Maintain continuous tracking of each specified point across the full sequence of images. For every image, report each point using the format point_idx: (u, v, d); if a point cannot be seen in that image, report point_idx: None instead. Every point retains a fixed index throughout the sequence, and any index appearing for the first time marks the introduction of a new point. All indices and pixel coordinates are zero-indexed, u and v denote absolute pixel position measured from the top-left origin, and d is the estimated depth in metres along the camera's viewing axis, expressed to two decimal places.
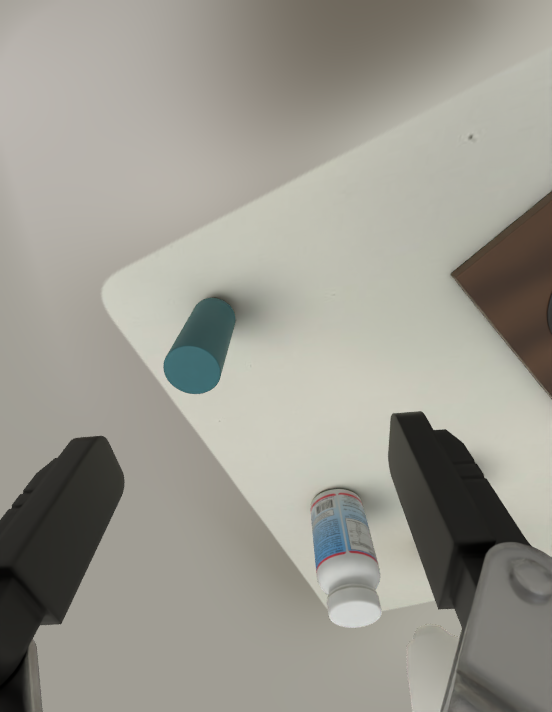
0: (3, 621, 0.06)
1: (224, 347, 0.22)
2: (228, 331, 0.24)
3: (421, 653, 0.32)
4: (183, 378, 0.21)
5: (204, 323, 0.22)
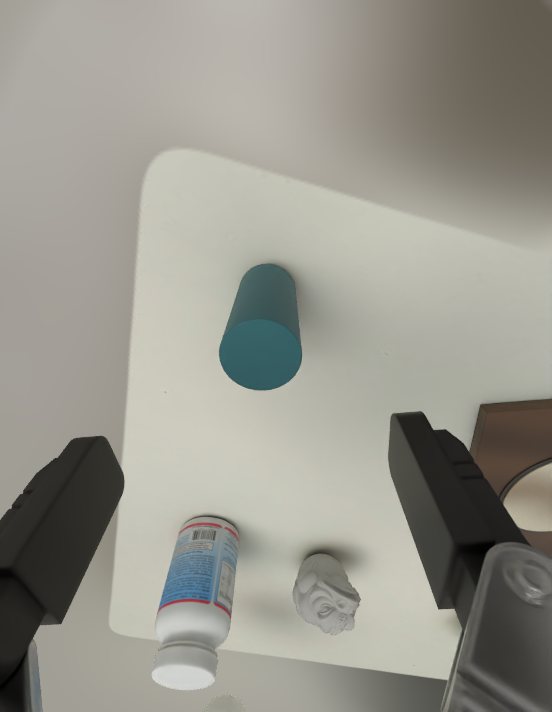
0: (3, 621, 0.06)
1: None
2: None
3: None
4: (241, 357, 0.14)
5: (291, 303, 0.16)
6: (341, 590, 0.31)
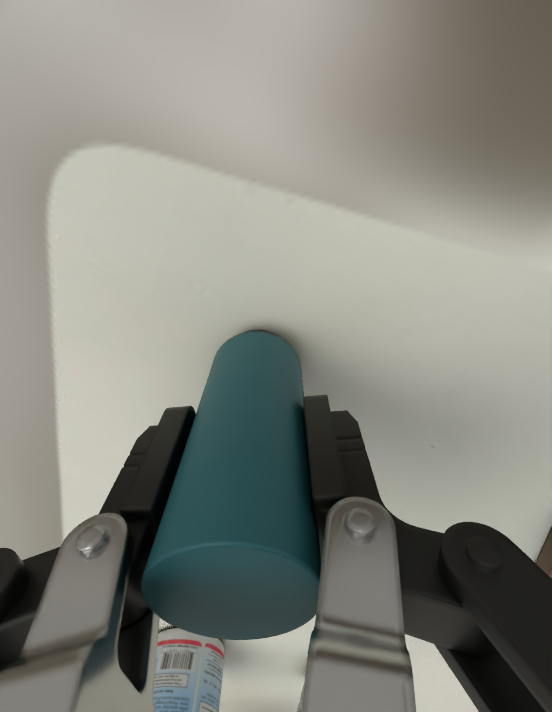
0: (145, 557, 0.07)
1: None
2: None
3: None
4: (191, 600, 0.06)
5: (297, 436, 0.09)
6: None
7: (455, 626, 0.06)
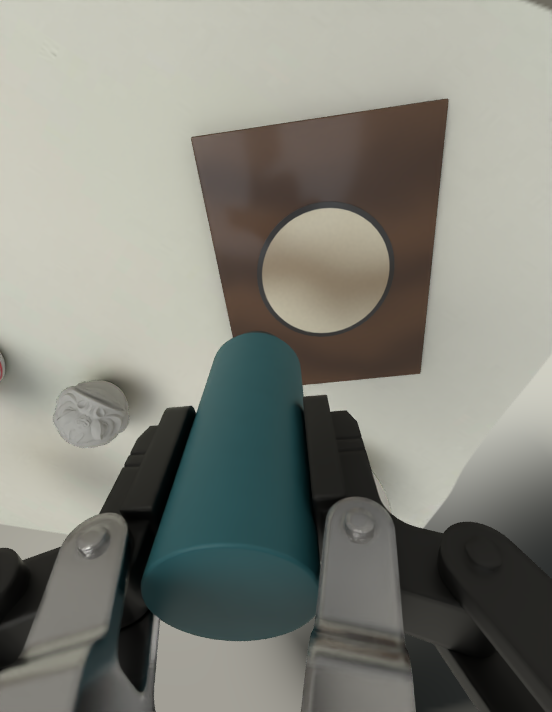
0: (146, 557, 0.07)
1: None
2: None
3: None
4: (190, 602, 0.06)
5: (297, 437, 0.09)
6: (89, 394, 0.28)
7: (454, 626, 0.06)
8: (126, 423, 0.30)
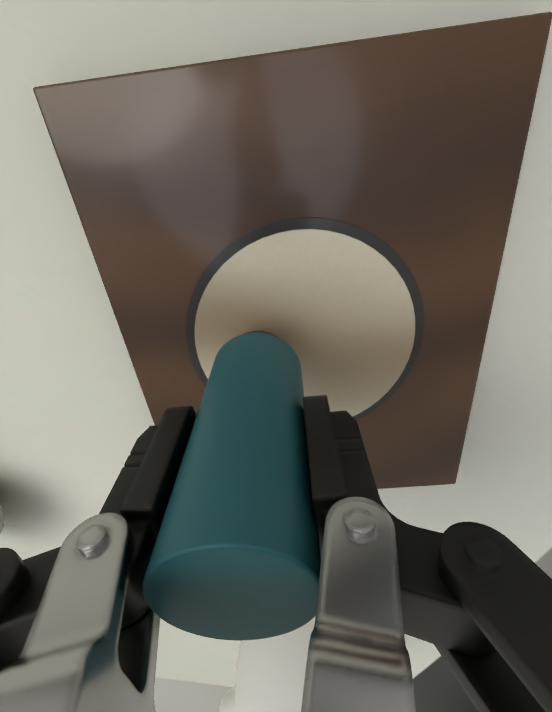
0: (146, 557, 0.07)
1: None
2: None
3: None
4: (192, 601, 0.06)
5: (297, 437, 0.09)
6: None
7: (454, 626, 0.06)
8: None
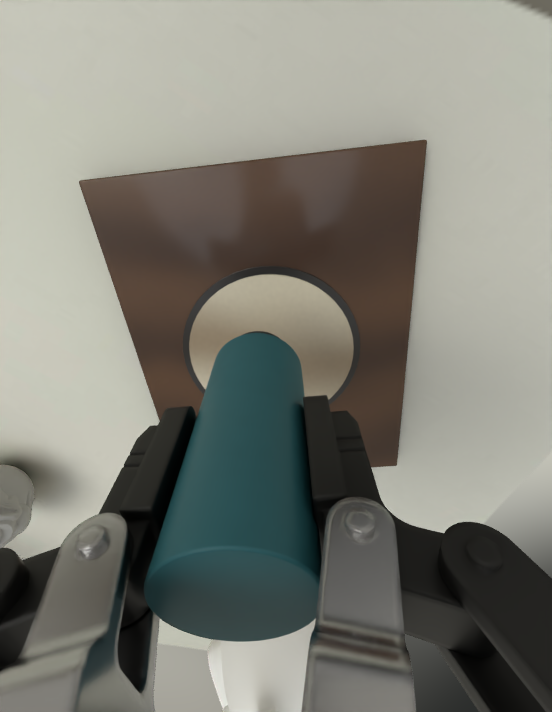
0: (145, 557, 0.07)
1: None
2: None
3: None
4: (193, 603, 0.06)
5: (298, 439, 0.09)
6: None
7: (455, 626, 0.06)
8: (24, 524, 0.24)
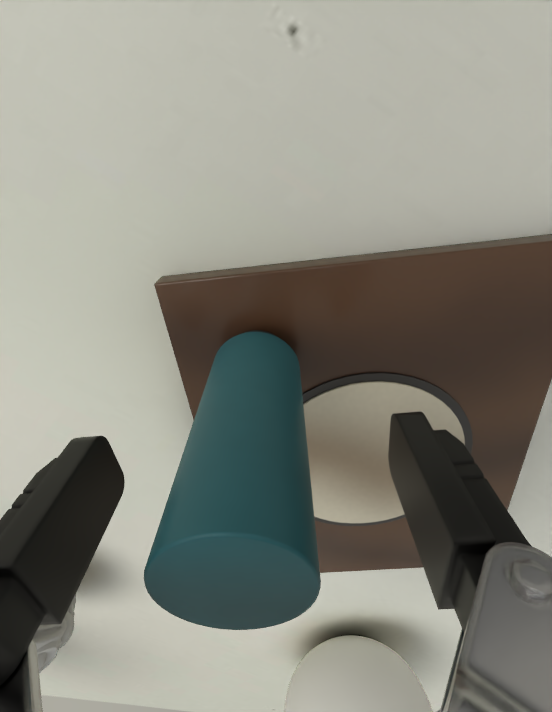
0: (3, 621, 0.06)
1: None
2: None
3: None
4: (192, 590, 0.07)
5: (295, 433, 0.09)
6: None
7: None
8: (68, 637, 0.21)
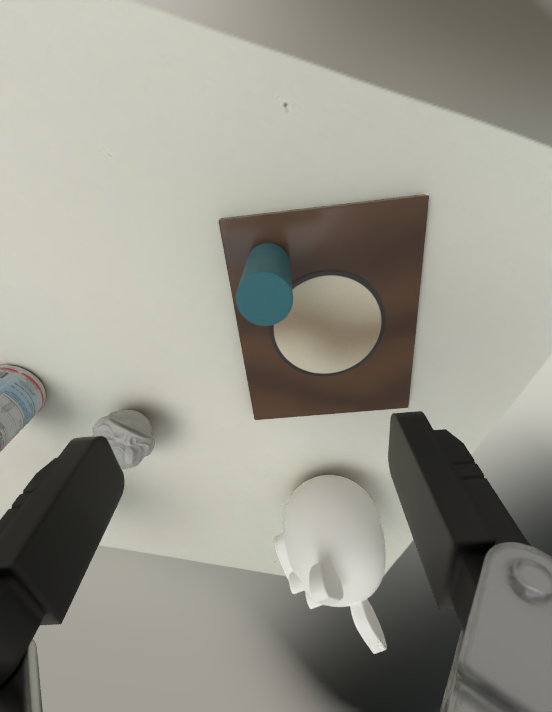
0: (3, 621, 0.06)
1: None
2: None
3: None
4: (251, 300, 0.20)
5: (286, 267, 0.23)
6: (123, 425, 0.32)
7: None
8: (152, 448, 0.35)
